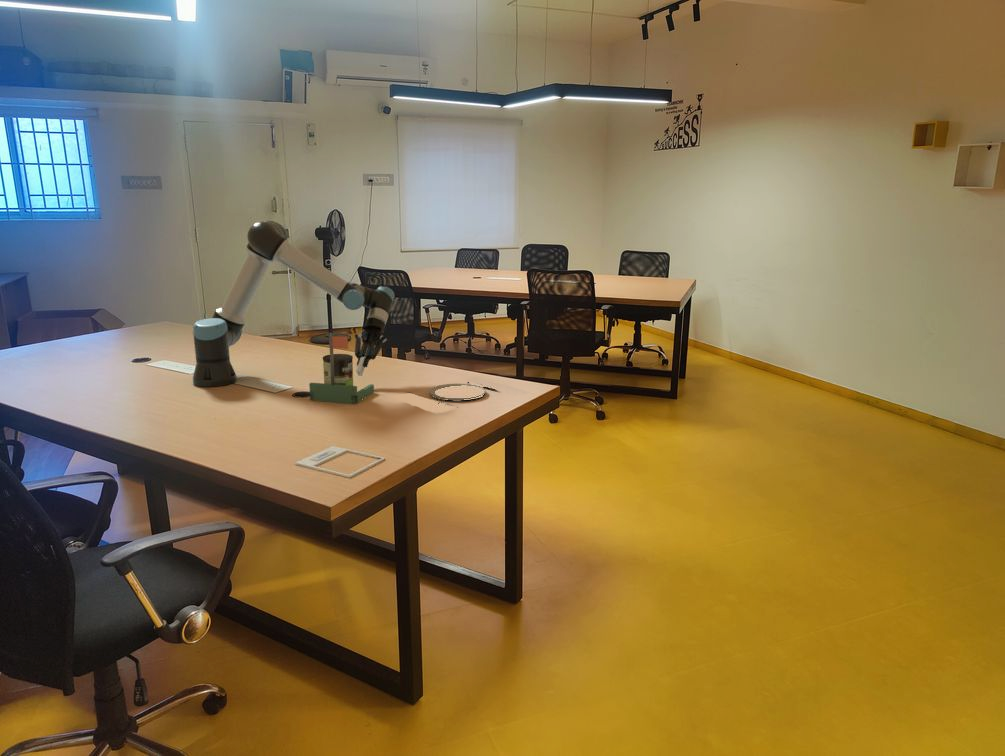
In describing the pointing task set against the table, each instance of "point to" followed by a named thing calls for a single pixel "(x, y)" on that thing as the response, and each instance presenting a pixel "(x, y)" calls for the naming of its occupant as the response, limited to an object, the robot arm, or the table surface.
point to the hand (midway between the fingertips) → (359, 373)
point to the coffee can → (339, 369)
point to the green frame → (332, 390)
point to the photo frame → (329, 454)
